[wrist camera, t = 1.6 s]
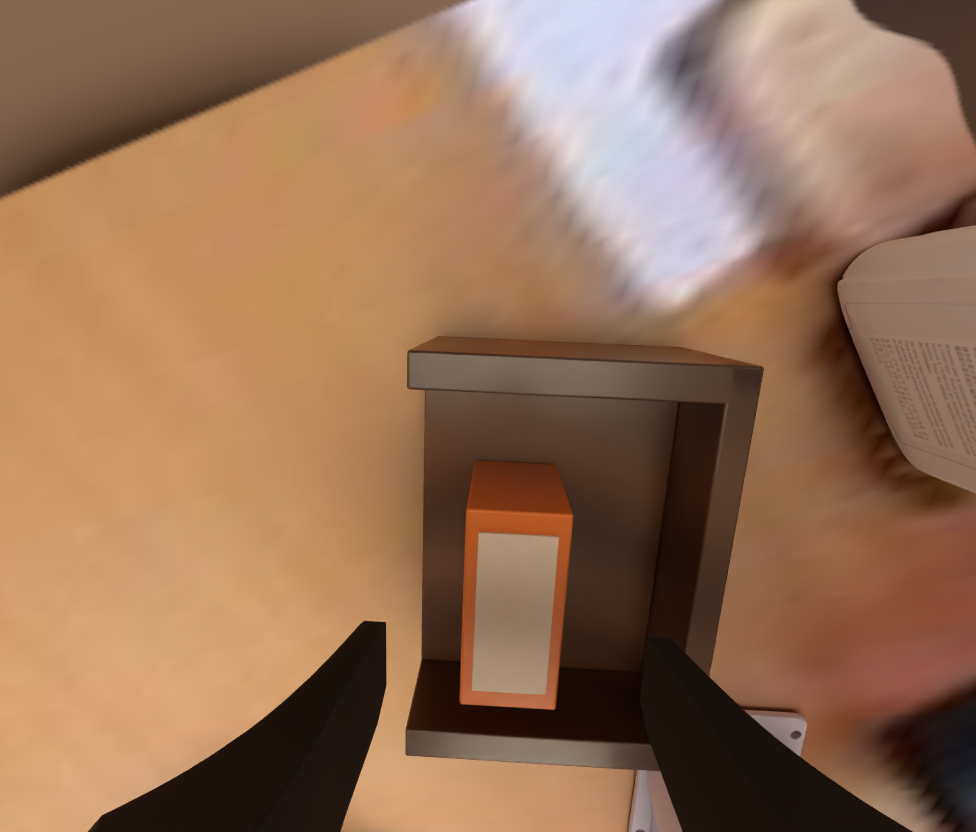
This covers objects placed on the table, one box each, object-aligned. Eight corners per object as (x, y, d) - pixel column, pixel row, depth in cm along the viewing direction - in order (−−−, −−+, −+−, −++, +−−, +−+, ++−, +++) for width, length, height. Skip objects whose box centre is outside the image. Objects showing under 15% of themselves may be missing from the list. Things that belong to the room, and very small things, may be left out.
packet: (544, 620, 20) (556, 713, 15) (468, 616, 20) (458, 707, 16) (556, 463, 18) (574, 516, 14) (474, 459, 19) (465, 510, 14)
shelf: (642, 649, 24) (692, 774, 17) (430, 636, 24) (405, 756, 18) (683, 347, 20) (765, 366, 14) (436, 336, 20) (406, 349, 14)
